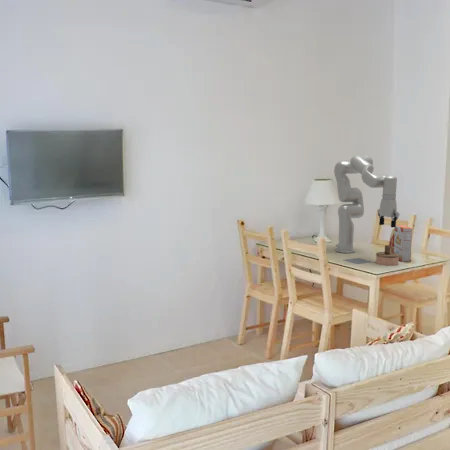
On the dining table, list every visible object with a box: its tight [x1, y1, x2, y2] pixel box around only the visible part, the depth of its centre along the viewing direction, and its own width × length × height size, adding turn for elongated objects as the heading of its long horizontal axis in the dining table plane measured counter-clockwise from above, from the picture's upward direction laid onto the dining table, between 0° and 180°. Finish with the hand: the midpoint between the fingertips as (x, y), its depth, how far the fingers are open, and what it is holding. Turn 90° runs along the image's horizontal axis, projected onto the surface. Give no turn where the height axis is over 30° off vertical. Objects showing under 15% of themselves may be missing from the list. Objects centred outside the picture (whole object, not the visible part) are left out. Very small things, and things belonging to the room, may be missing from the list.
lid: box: [375, 244, 399, 258], centre depth 323 cm, size 13×13×6 cm
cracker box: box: [394, 224, 413, 263], centre depth 335 cm, size 14×6×21 cm, turn 3°
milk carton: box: [388, 227, 395, 253], centre depth 347 cm, size 9×9×20 cm
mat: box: [343, 257, 373, 265], centre depth 329 cm, size 13×13×1 cm
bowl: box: [375, 255, 400, 266], centre depth 324 cm, size 12×12×5 cm
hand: (387, 225), depth 322 cm, fingers open, 9 cm apart
